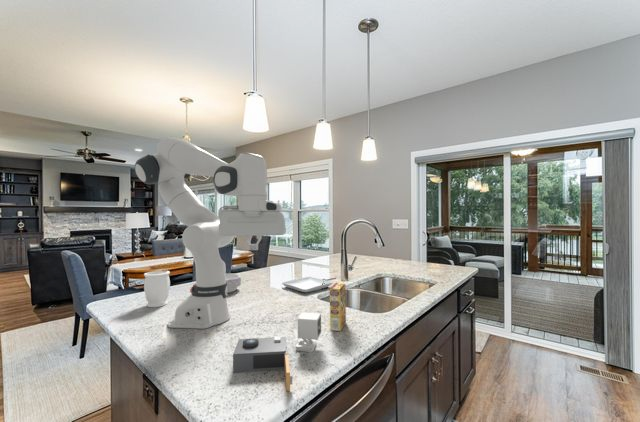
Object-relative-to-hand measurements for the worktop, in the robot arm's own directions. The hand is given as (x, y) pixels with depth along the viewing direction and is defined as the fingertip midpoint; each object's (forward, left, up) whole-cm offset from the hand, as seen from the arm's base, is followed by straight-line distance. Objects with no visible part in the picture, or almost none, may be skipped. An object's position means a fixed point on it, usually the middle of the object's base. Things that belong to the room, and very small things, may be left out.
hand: (253, 250), depth 89 cm
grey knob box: (+3, -7, -31) cm, 32 cm away
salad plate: (+21, +71, -32) cm, 81 cm away
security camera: (+17, 0, -31) cm, 36 cm away
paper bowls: (-23, +70, -31) cm, 80 cm away
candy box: (+29, +15, -31) cm, 45 cm away
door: (+11, -17, -31) cm, 37 cm away
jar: (-50, +50, -31) cm, 77 cm away
